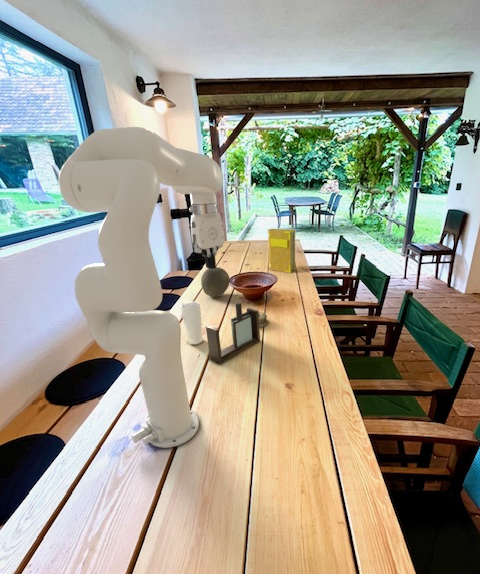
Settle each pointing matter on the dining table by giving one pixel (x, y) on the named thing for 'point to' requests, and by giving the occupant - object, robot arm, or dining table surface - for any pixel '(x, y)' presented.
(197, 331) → the drinking glass
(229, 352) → the window frame
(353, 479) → the dining table surface
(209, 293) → the cantaloupe
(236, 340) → the sliding pane
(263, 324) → the cake
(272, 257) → the book
